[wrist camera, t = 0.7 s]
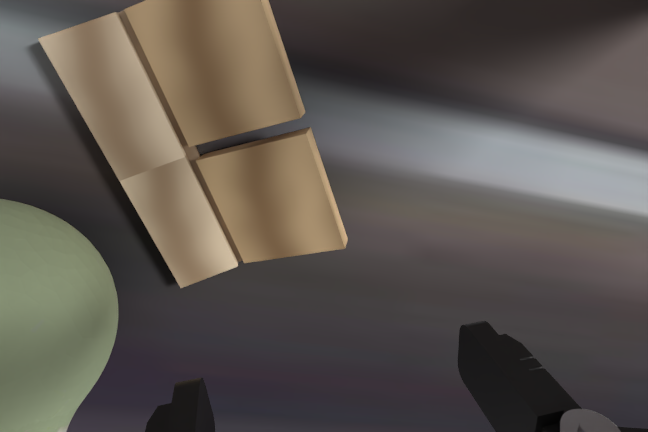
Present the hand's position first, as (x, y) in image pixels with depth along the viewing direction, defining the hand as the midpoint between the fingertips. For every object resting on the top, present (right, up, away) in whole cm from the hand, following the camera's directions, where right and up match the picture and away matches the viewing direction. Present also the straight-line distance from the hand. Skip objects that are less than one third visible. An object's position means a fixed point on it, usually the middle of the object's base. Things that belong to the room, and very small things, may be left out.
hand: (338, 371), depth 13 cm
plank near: (-7, +14, +13) cm, 20 cm away
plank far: (-4, +6, +17) cm, 18 cm away
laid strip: (-12, +8, +16) cm, 21 cm away
